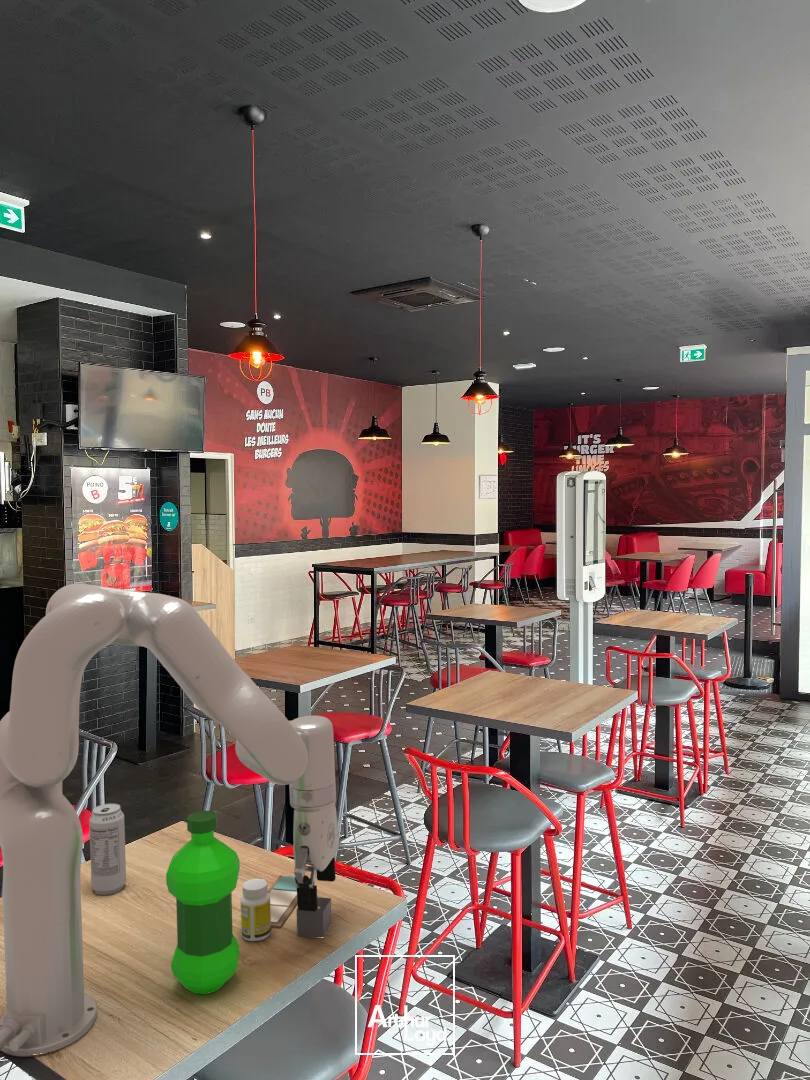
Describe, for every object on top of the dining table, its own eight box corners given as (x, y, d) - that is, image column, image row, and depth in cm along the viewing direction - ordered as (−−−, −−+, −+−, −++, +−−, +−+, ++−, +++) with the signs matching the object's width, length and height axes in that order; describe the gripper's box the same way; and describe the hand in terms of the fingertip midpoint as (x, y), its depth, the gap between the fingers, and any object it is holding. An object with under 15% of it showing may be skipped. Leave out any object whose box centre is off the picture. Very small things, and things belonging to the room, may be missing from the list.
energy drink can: (132, 881, 150) (129, 802, 149) (117, 897, 144) (114, 815, 143) (101, 880, 150) (98, 802, 150) (85, 895, 144) (82, 814, 144)
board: (280, 928, 132) (280, 924, 132) (243, 924, 133) (243, 920, 133) (313, 880, 149) (313, 876, 149) (280, 877, 150) (280, 873, 150)
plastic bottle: (219, 955, 124) (215, 797, 123) (255, 984, 117) (251, 816, 115) (158, 982, 118) (153, 815, 116) (192, 1014, 110) (187, 836, 109)
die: (323, 939, 129) (323, 910, 129) (297, 936, 130) (296, 908, 129) (331, 924, 133) (331, 897, 133) (306, 922, 134) (305, 895, 134)
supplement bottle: (274, 927, 132) (273, 877, 132) (266, 942, 128) (265, 891, 127) (246, 926, 133) (245, 876, 133) (237, 941, 128) (236, 890, 128)
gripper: (318, 815, 121) (323, 924, 122) (349, 775, 138) (353, 871, 139) (271, 813, 123) (277, 920, 124) (308, 773, 140) (312, 868, 141)
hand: (317, 894), depth 132 cm, fingers open, 9 cm apart
